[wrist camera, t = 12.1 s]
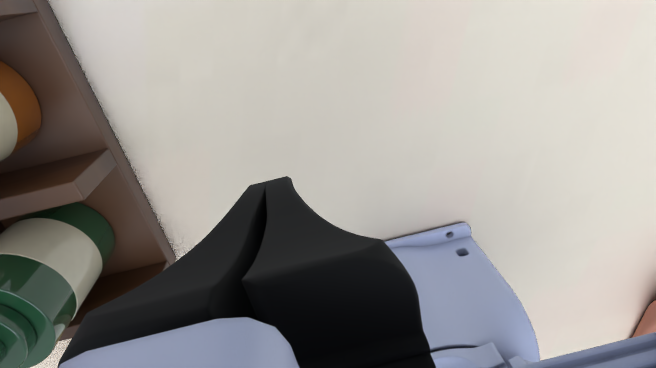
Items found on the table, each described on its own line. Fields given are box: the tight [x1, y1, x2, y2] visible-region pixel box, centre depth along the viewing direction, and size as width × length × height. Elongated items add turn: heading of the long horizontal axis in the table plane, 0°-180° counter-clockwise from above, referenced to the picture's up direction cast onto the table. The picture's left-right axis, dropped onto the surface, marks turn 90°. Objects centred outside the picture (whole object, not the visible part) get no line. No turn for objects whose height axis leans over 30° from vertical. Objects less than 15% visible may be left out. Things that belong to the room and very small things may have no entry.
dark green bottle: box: [0, 202, 115, 368], centre depth 18 cm, size 5×5×10 cm
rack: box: [0, 0, 176, 341], centre depth 18 cm, size 8×16×8 cm, turn 12°
